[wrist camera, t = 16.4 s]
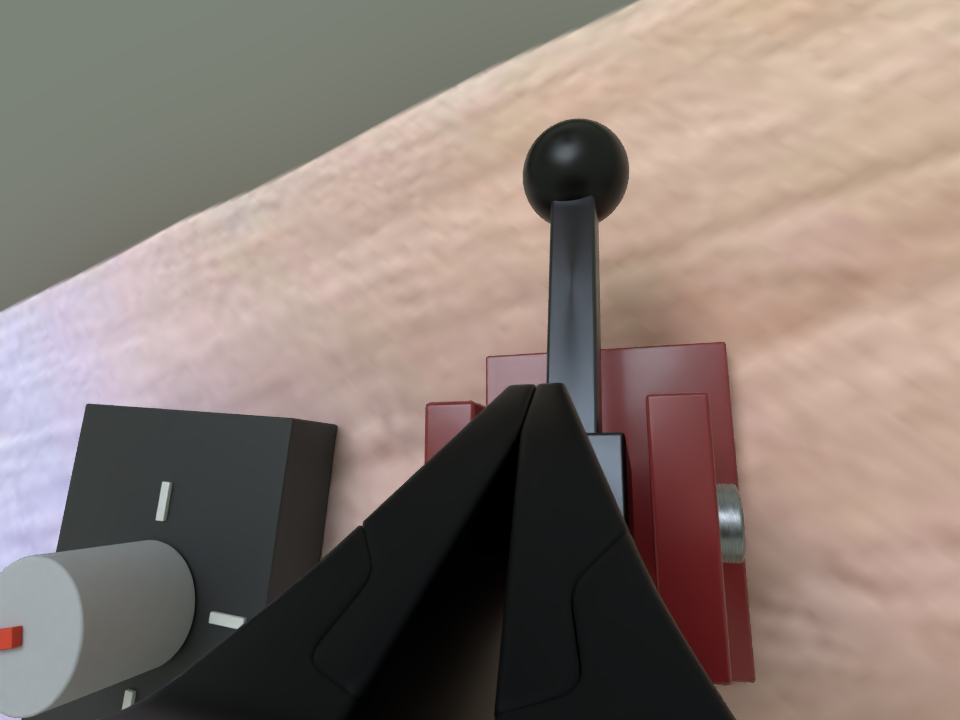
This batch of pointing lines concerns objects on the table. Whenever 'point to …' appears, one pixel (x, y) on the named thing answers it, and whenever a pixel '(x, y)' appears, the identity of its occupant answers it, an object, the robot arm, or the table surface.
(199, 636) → the control panel
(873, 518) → the table surface
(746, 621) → the red lever stand
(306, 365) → the table surface
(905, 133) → the table surface
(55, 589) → the browning dial
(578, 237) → the black lever handle
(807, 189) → the table surface
